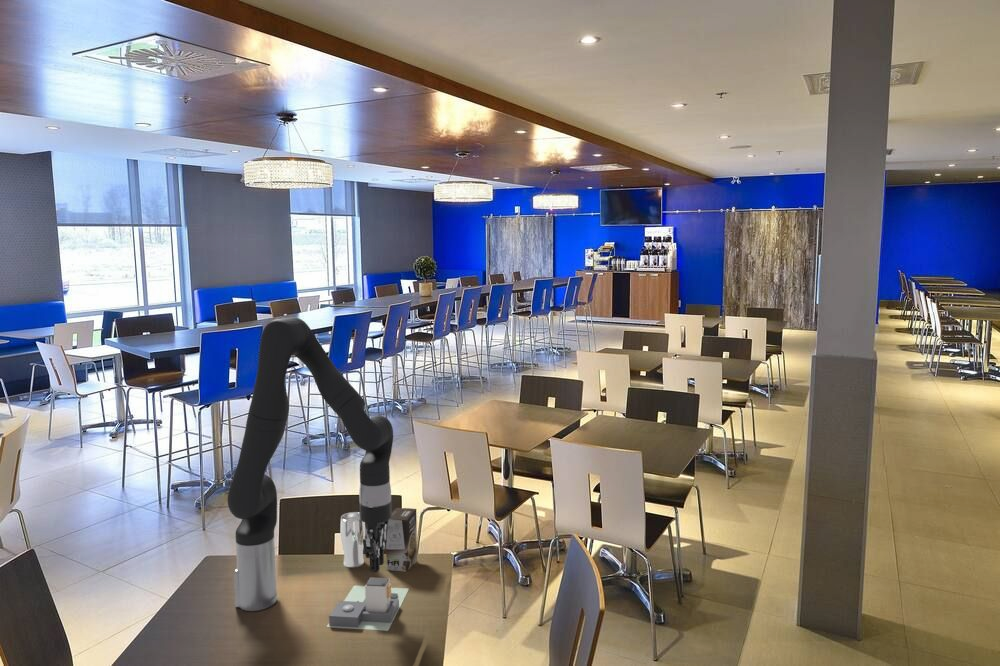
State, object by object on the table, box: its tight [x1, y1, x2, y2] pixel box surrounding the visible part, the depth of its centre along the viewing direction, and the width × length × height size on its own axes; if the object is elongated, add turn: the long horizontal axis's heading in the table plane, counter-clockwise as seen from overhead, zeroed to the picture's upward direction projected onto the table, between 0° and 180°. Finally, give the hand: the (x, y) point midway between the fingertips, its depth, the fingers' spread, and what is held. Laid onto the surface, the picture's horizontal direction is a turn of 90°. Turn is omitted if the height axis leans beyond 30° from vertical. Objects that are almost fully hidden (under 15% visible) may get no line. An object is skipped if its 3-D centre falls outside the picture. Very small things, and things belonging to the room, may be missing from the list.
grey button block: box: [328, 600, 366, 628], centre depth 163 cm, size 7×11×3 cm, turn 174°
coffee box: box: [385, 507, 418, 573], centre depth 189 cm, size 9×6×16 cm
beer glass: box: [339, 511, 366, 568], centre depth 190 cm, size 7×7×15 cm
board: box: [326, 585, 410, 632], centre depth 166 cm, size 15×20×3 cm
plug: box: [364, 577, 392, 613], centre depth 163 cm, size 6×4×8 cm
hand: (377, 567), depth 162 cm, fingers open, 3 cm apart
